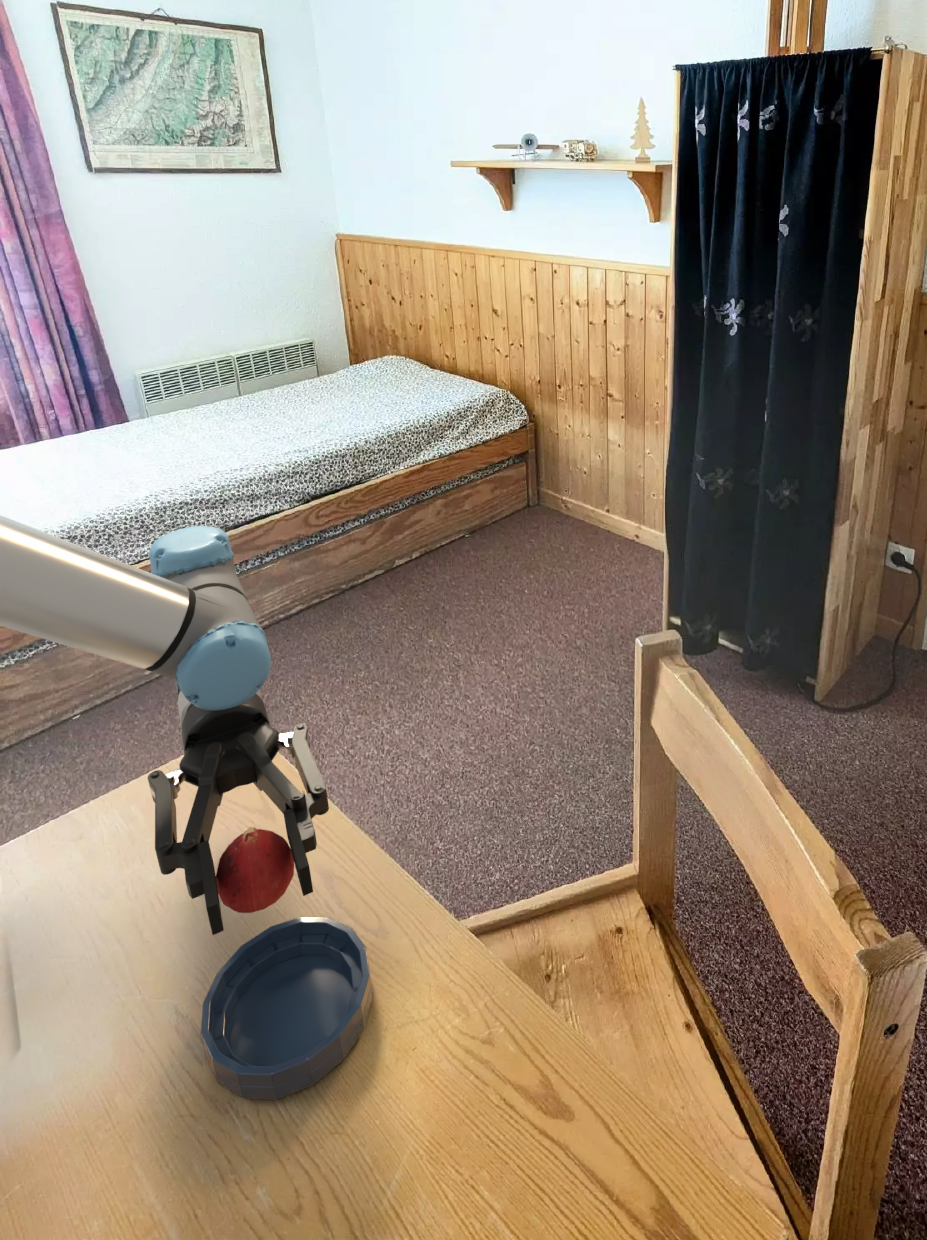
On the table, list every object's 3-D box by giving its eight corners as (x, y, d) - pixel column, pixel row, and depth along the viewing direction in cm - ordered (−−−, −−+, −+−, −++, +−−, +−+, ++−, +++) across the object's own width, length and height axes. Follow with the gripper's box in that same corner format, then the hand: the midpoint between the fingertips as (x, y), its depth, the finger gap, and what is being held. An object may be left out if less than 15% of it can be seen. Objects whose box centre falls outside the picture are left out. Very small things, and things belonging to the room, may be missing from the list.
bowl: (177, 1102, 62) (169, 1072, 60) (249, 942, 74) (244, 915, 73) (344, 1105, 61) (340, 1075, 60) (389, 944, 74) (386, 917, 73)
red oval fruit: (235, 951, 61) (219, 875, 58) (214, 900, 65) (198, 826, 62) (309, 908, 65) (297, 834, 62) (285, 862, 69) (272, 791, 66)
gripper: (325, 716, 83) (389, 881, 64) (122, 783, 74) (128, 998, 55) (317, 657, 81) (381, 811, 62) (105, 719, 72) (106, 922, 53)
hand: (261, 899), depth 59 cm, fingers closed on red oval fruit, 6 cm apart
